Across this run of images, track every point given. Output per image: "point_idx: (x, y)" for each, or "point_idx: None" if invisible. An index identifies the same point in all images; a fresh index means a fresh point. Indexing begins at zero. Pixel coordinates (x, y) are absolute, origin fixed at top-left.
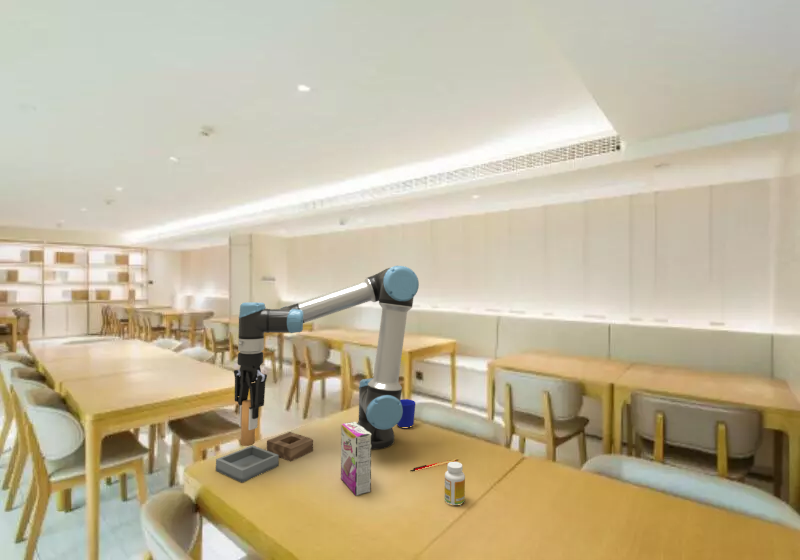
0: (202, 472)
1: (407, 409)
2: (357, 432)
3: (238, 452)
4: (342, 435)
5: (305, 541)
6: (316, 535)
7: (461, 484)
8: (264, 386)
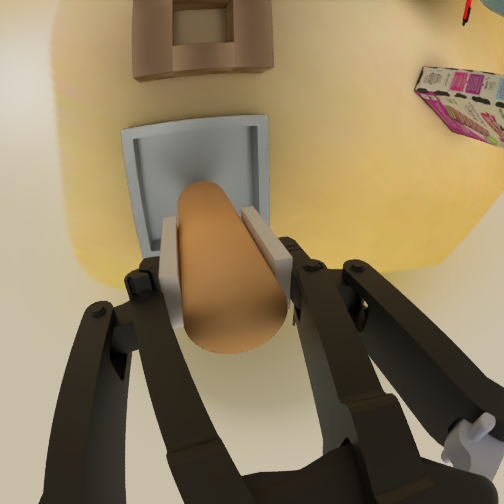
0: (133, 270)
1: None
2: None
3: (140, 192)
4: (498, 111)
5: (440, 248)
6: (445, 233)
7: None
8: (458, 355)
